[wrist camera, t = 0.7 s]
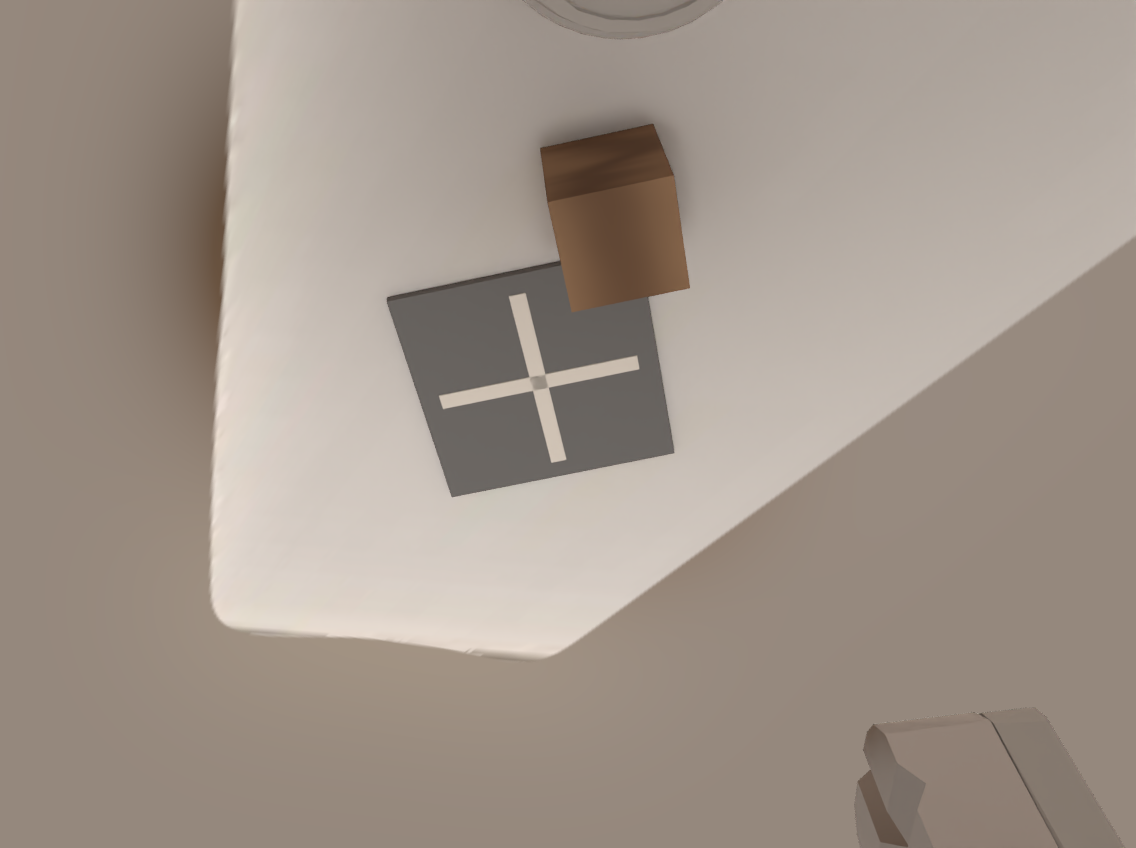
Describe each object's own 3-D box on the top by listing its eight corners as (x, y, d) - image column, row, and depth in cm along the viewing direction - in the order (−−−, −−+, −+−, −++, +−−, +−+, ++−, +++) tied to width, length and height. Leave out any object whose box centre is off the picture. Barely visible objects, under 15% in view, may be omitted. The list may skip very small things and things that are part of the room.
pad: (638, 244, 49) (639, 249, 49) (673, 448, 56) (674, 453, 55) (387, 297, 50) (386, 302, 49) (452, 492, 56) (452, 498, 56)
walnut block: (652, 123, 46) (673, 175, 41) (668, 227, 49) (689, 288, 44) (540, 147, 46) (547, 202, 41) (562, 250, 49) (571, 312, 44)
